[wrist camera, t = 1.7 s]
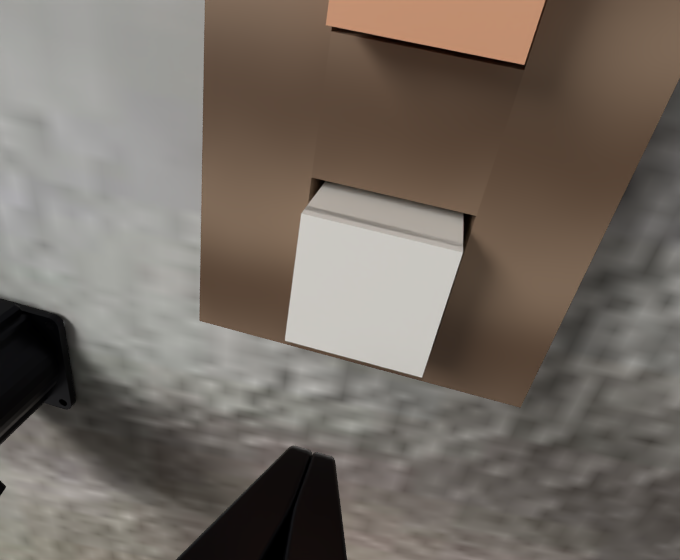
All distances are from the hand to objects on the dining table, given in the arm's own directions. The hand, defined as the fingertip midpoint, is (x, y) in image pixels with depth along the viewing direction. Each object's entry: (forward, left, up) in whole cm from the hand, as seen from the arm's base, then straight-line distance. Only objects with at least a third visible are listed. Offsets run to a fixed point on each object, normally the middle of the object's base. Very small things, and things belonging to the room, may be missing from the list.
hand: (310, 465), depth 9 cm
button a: (0, 0, -9) cm, 9 cm away
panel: (+4, 0, -12) cm, 13 cm away
